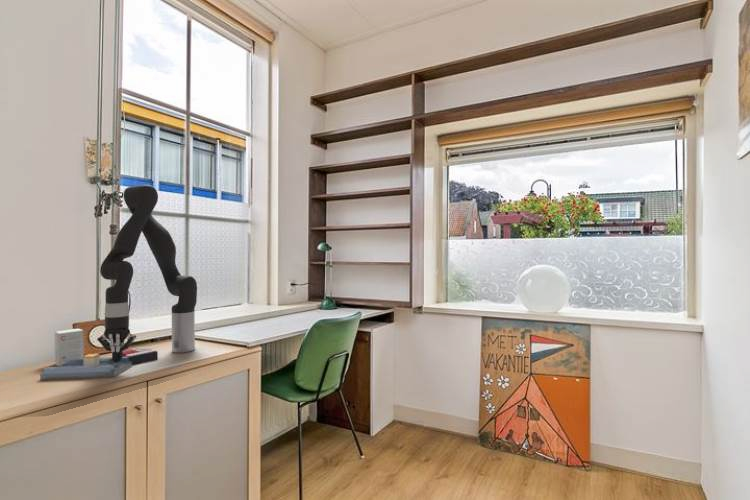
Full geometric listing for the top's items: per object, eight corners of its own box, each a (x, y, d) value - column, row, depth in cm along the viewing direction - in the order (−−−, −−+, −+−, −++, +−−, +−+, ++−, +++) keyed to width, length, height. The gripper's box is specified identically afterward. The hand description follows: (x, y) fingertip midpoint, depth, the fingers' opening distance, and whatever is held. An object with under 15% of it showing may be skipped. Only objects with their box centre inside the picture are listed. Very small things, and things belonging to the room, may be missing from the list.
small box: (79, 359, 163) (79, 327, 163) (84, 362, 159) (83, 330, 159) (54, 364, 157) (54, 331, 157) (58, 367, 153) (58, 333, 153)
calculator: (142, 345, 173) (157, 349, 163) (142, 355, 172) (158, 359, 163) (113, 351, 164) (128, 355, 155) (113, 361, 164) (128, 366, 155)
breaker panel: (65, 368, 151) (65, 358, 151) (132, 366, 154) (132, 356, 154) (40, 380, 138) (40, 369, 138) (114, 377, 141) (113, 366, 141)
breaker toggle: (89, 365, 148) (89, 354, 148) (99, 364, 148) (99, 353, 148) (83, 368, 144) (83, 356, 144) (93, 367, 144) (93, 356, 144)
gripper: (140, 312, 151) (140, 358, 151) (103, 313, 150) (103, 359, 150) (130, 316, 144) (131, 364, 144) (91, 316, 142) (91, 365, 142)
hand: (117, 361), depth 147 cm, fingers closed
